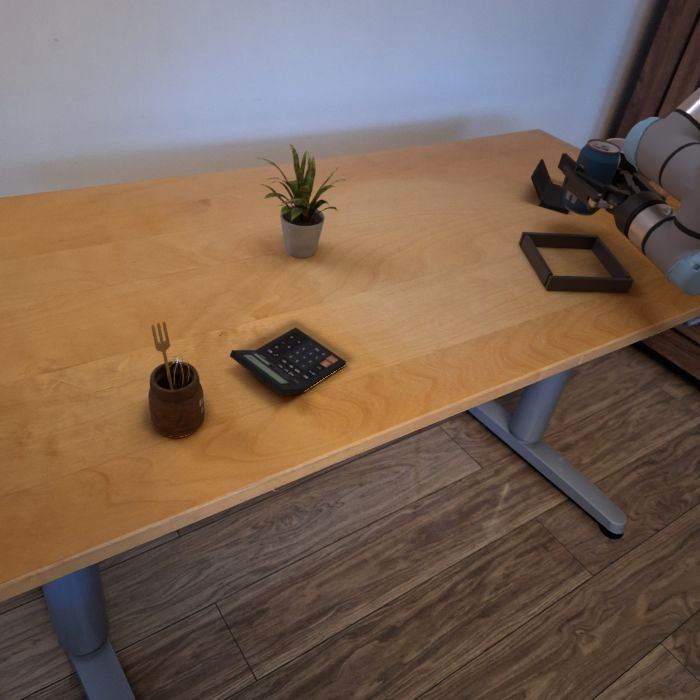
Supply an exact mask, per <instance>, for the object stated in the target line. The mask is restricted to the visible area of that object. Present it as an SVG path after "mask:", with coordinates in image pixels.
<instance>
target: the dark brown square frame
mask: <svg viewBox="0 0 700 700" xmlns="http://www.w3.org/2000/svg"><path fill="white" fill-rule="evenodd" d="M518 245H519V246H520V249H521V250H522V252H523V253H524V255H525V257H526V259H527V261H528V262H529V264H530V266H531V267H532V269H533V271H534V272H535V274H536V275H537V277H538V280H539V281H540V282H541V284H542V285H543V287H544V288H545V290H546V291H549V292H550V291H551V292H553V291H555V292H587V293H589V292H590V293H618V294H619V293H622V294H629V292H630V291H631V289H632V286H633V284H634V282H635V280H634V279H633V277H632V276H631V275H630V273H629V272H628V271H627V269H626V268H625V267H624V265H622V263H621V262H620V261H619V260H618V258H617V257H616V256H615V254H614V253H613V252H612V251H611V250H610V248H609V247H608V245H606V244H605V242H604V240H602V238H601V237H600V236H599V235H598V234H583V233H581V234H580V233H559V232H540V231H539V232H535V231H522V233H521V235H520V238H519V240H518ZM538 248H559V249H560V248H561V249H585V250H586V249H587V250H591V251H592V252H593V254H594V255H595V256H596V257H597V259H598V260H599V261H600V263H601V264H602V266H603V267H604V268H605V270H606V271H607V272H608V274H609V275H610V276H583V275H554V273H553V271H552V269H551V268H550V267H549V265H548V263H547V261H546V260H545V259H544V257H543V255H542V254H541V252H540V251H539V249H538Z"/></svg>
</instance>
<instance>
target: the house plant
mask: <svg viewBox="0 0 700 700" xmlns="http://www.w3.org/2000/svg"><path fill="white" fill-rule="evenodd" d="M289 147H290V149H291V153H292V159H293V170H294V174H295V178H296V179H295V180H288V178H287V177H286V175H285V174H284V172H283V171H282V170H281V168H280V167H279V166H278V165H277V164H276V163H275V162H274V161H271V160H269V159H266V158H264V157H258V156H256V158H257V159H260V160H264V161H266V162H265V163H267V164H269V165H272V166H274V167H275V168H276V169H277V170H278V171H279V172H280V174H281V175H282V176H283V179H281V178H279V177H275V176H274V177H269V178H268V177H267V178H266V179H265V180H266V181H269V180H280V181H278V183H279V184H281V185H282V186H283V188H284V189H285V191H287V193H288V195H289V197H290V199H289V198H288V197H286V196H285V195H284V194H282V193H280V192H277V191H276V190H275V189H274V188H272V187H271V186H269V185H267V184H261V183H260V184H259V185H261V186H264V187H265V188H268V189H269V190H270V191H272V192H269V193H267V194H266V195H265V196H264V197H263V198H262V200H265V199H270V198H278V199H279V200H280V201H281V203H280V204H278V205H276V206H275V207H277V208H278V207H281V209H280V224H281V232H282V239H283V245H284V251H285V253H287V255H289V256H291V257H294V258H299V259H304V258H310V257H312V256H314V255H315V254H316V252H317V249H318V245H319V241H320V237H321V234H322V231H323V226H324V224H325V219H326V218H325V214H324V211H325V210H334V211H337V213H339V211H338V208H337V206H330V204H329V202H328V201H327V200H326V199H323V198H322V199H319V198H320V197H321V196H322V194H324V193H325V192H327V191H328V190H329V189H332V188H333V187H334V188H336V186H335V185H333V184H336V183H338V182H343V181H348V179H345V178H340V179H337V180H335V181H333V182H331V183H330V184H328V185H327V184H326V183H328V182H329V180H330V179H331V178H332V176H333V175H334V174H335V173H336V172H337V171H338V169H339V168H340V167H339V166H338V167H337V168H335V170H333V171H332V173H331V174H330V175H329V176H327V179H326V180H325V181H324V182H323V183H322V184H321V186H320V187H319V188H318V190H317V191H316V193H315V195H314V196H313V198H312V200H311V201H310V199H311V196H312V193H313V188H314V183H315V179H316V172H317V171H316V170H317V169H316V161H315V157H314V156H312V158H311V155H310V153H309V152H308V151H307V150H306V151H305V152H304V153H303V154H302V158H301V162H300V158H299V154H298V151H297V150H296V149H295V147H294V145H293V144H292V143H289ZM306 165H307V169H306ZM305 169H306V171H305ZM273 183H275V181H272V182H271V184H273ZM283 198H284V199H285V200H284V199H283ZM289 204H290V205H289ZM324 204H327V206H328V207H325V208H323V209H322V210H320V207H321V206H322V205H324Z"/></svg>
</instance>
